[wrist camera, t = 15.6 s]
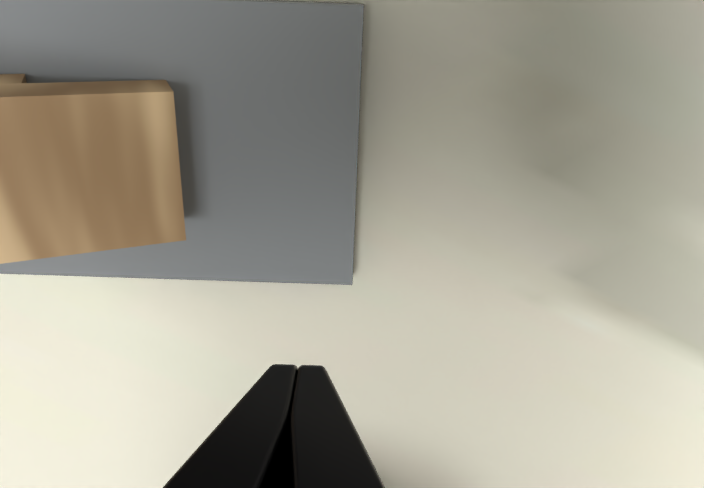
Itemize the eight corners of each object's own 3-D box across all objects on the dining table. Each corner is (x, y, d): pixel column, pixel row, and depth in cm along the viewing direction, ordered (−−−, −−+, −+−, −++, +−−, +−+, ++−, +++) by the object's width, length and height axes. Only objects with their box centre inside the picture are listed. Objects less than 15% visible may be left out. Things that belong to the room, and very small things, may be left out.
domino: (173, 91, 17) (-264, 105, 14) (186, 240, 20) (-188, 287, 16) (165, 79, 19) (-232, 89, 15) (178, 219, 21) (-165, 258, 17)
